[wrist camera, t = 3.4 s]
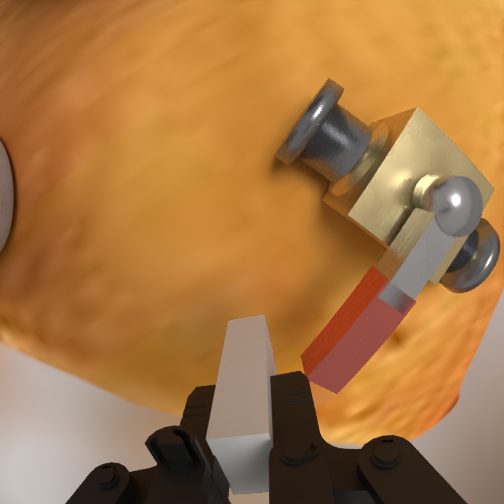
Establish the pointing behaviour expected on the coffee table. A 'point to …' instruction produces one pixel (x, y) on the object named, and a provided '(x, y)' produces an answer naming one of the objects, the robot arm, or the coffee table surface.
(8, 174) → the planter
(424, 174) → the valve body
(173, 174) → the coffee table surface
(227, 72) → the coffee table surface
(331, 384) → the lever
